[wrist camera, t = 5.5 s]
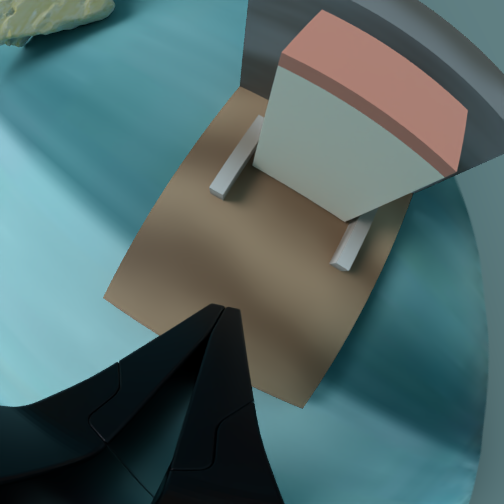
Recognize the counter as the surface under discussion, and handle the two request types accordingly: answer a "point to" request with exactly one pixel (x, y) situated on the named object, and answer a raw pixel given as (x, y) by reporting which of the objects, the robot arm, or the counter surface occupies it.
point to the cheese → (47, 17)
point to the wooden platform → (290, 205)
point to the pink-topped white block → (355, 121)
